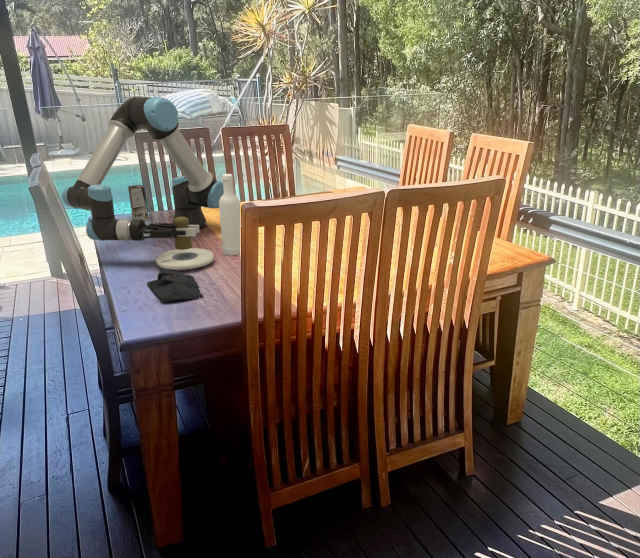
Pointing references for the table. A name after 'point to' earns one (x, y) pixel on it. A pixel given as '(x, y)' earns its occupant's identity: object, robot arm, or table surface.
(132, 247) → the table surface
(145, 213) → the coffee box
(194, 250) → the turntable
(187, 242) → the cork
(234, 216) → the bottle
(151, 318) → the table surface
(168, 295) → the dark grey folded cloth
